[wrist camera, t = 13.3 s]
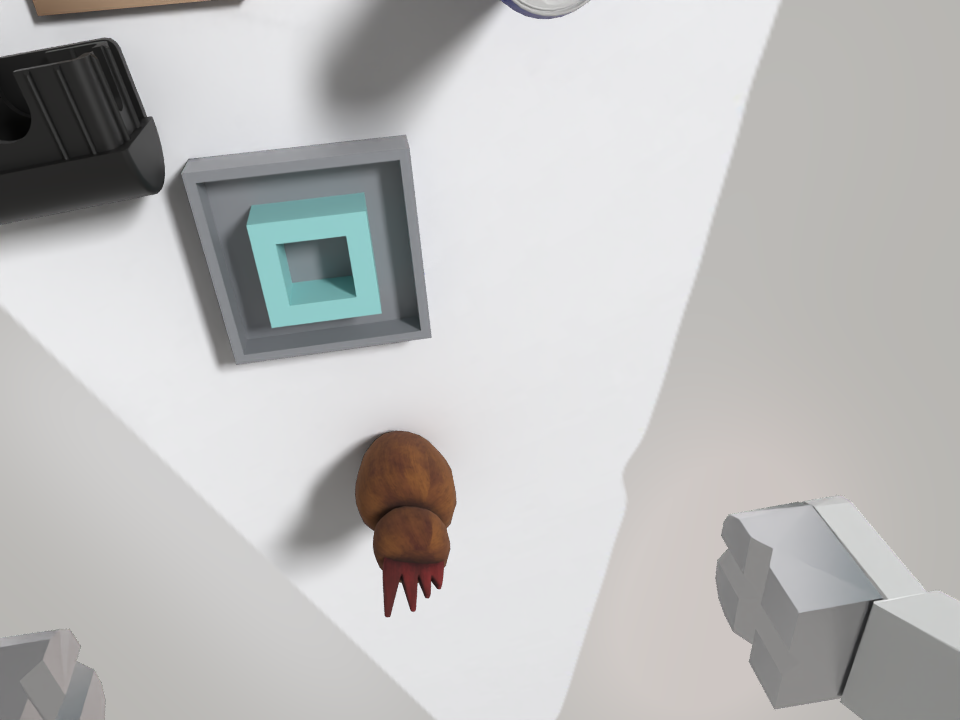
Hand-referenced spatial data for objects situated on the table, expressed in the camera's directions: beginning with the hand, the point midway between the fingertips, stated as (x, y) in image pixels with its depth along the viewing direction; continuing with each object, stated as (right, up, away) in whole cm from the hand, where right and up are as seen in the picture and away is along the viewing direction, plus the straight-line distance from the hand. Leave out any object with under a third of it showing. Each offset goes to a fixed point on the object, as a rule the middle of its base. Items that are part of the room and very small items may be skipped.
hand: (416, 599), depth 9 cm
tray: (-9, +10, +36) cm, 39 cm away
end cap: (-22, +16, +31) cm, 41 cm away
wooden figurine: (-5, -4, +46) cm, 47 cm away
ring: (-9, +10, +36) cm, 38 cm away
